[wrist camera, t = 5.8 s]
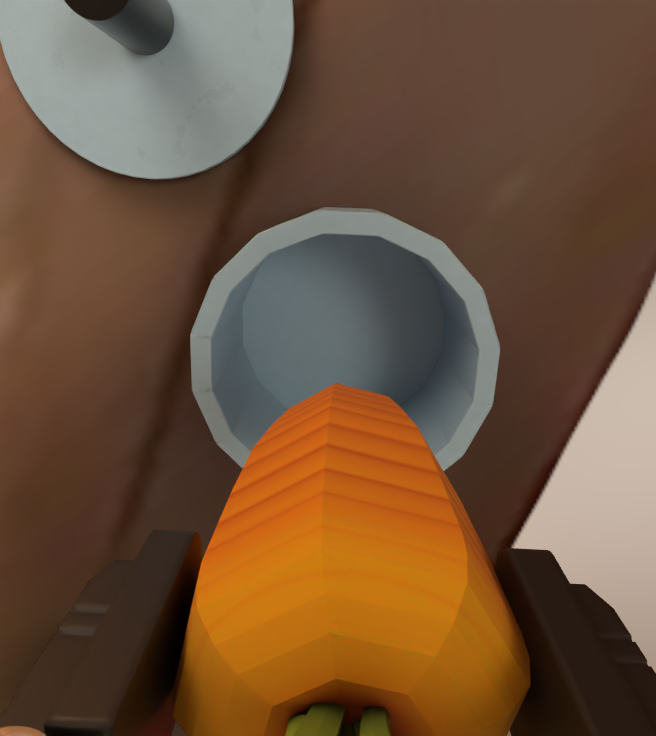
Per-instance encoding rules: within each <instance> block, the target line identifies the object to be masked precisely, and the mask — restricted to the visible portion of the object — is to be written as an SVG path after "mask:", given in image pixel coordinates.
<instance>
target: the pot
mask: <svg viewBox="0 0 656 736" xmlns="http://www.w3.org/2000/svg"><path fill="white" fill-rule="evenodd" d="M190 345H191V376H192V392H193V394H194V396H195V399H196V401H197V403H198V405H199V407H200V409H201V412H202V414H203V416H204V418H205V420H206V422H207V425H208V427H209V429H210V431H211V433H212V435H213V438H214V440H215V442H217V445H218V446H219V447H220V448H221V449H222V450H223V451H224V452H225V453H227V454H228V455H229V456H230V457H231V458H232V459H233V460H234V461H235V462H236V463H237V464H238V465H239V466H240V467H241V468H242V469H243V467H244V465H245V463H246V461H247V459H248V457H249V455H250V453H251V451H252V449H253V447H254V446H255V445H256V444H257V442H258V441H259V440H260V439H261V438H262V436H263V435H264V434H265V433H266V432H267V430H268V429H269V428H270V427H271V426H272V425H273V424H274V423H275V422H276V421H277V420H278V419H279V418H280V417H281V416H282V415H283V414H284V413H285V412H286V411H287V410H288V409H289V408H291V407H293V406H294V405H296V404H298V403H300V402H302V401H304V400H305V399H307V398H309V397H311V396H313V395H315V394H316V393H318V392H320V391H322V390H324V389H326V388H327V387H329V386H331V385H333V384H335V383H338V384H342V385H346V386H350V387H354V388H358V389H362V390H366V391H370V392H374V393H378V394H381V395H385V396H389V397H390V398H391V399H392V400H393V401H394V402H395V403H396V404H397V405H398V406H400V407H401V408H402V409H403V410H404V412H405V413H406V414H407V415H408V416H409V418H410V419H411V420H412V421H413V422H414V424H415V425H416V426H417V427H418V428H419V430H420V432H421V434H422V435H423V437H424V439H425V440H426V442H427V444H428V446H429V447H430V449H431V451H432V452H433V454H434V456H435V458H436V459H437V461H438V463H439V464H440V466H441V468H442V470H443V471H444V470H445V469H447V468H448V467H449V466H451V465H452V464H453V463H455V462H456V461H457V460H458V459H460V458H461V457H462V456H463V454H464V453H465V452H466V450H467V448H468V447H469V445H470V443H471V441H472V440H473V438H474V436H475V435H476V433H477V431H478V430H479V428H480V426H481V424H482V423H483V421H484V419H485V418H486V416H487V414H488V413H489V411H490V409H491V408H492V405H493V400H494V393H495V385H496V378H497V371H498V363H499V356H500V348H499V347H500V344H499V341H498V337H497V334H496V330H495V327H494V324H493V320H492V317H491V313H490V310H489V306H488V303H487V299H486V296H485V292H484V291H483V288H482V287H481V286H480V285H479V283H478V282H477V281H476V280H475V279H474V277H473V276H472V275H471V274H470V273H469V272H468V270H467V269H466V268H465V267H464V266H463V264H462V263H461V262H460V261H459V260H458V259H457V257H456V256H455V255H454V254H453V253H452V251H451V250H450V249H449V248H448V247H447V246H446V244H445V243H443V242H442V241H441V240H439V239H437V238H435V237H433V236H431V235H429V234H427V233H425V232H422V231H420V230H418V229H416V228H414V227H412V226H410V225H408V224H406V223H404V222H402V221H400V220H398V219H396V218H394V217H392V216H390V215H387V214H385V213H383V212H380V211H377V210H374V209H362V208H338V207H323V208H320V209H318V210H315V211H312V212H310V213H307V214H305V215H302V216H299V217H297V218H294V219H291V220H289V221H286V222H284V223H281V224H279V225H276V226H274V227H272V228H269V229H267V230H265V231H262V232H260V233H259V234H257V235H256V236H255V237H254V238H253V239H252V240H251V241H250V242H249V243H247V244H246V245H245V246H244V247H243V248H242V249H241V250H240V251H239V252H238V253H237V254H236V255H235V256H234V257H233V258H232V259H231V260H230V261H229V262H228V263H227V264H226V265H225V266H224V267H223V268H222V269H221V270H220V271H219V272H218V273H217V274H216V275H215V276H214V278H213V279H212V281H211V283H210V286H209V288H208V291H207V293H206V296H205V298H204V301H203V303H202V306H201V308H200V311H199V313H198V316H197V318H196V321H195V323H194V326H193V328H192V331H191V334H190Z"/></svg>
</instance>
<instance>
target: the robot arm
mask: <svg viewBox="0 0 656 736" xmlns="http://www.w3.org/2000/svg"><path fill="white" fill-rule="evenodd" d="M201 562H202V545H201V537H200V534H199V532H186V531H166V530H153V531H152V532H151V533H150V534H149V536H148V538H147V540H146V541H145V543H144V545H143V547H142V549H141V550H140V552H139V554H138V556H137V557H136V559H135V561H124V560H115V561H114V562H113V563H111V564H110V565H109V566H108V567H106V568H105V569H104V570H102V571H101V572H100V573H99V574H97V575H96V576H95V577H93V578H92V579H91V580H90V581H89V582H88V583H87V585H86V586H85V588H84V589H83V591H82V592H81V594H80V596H79V597H78V599H77V600H76V602H75V603H74V605H73V606H72V611H71V612H68V614H67V616H66V617H65V619H64V620H63V622H62V623H61V625H60V626H59V628H58V633H57V635H55V634H54V636H53V637H52V639H51V640H50V642H49V643H48V645H47V646H46V648H45V649H44V651H43V653H42V654H41V656H40V657H39V659H38V660H37V662H36V663H35V665H34V666H33V668H32V669H31V671H30V673H29V674H28V676H27V677H26V679H25V680H24V682H23V683H22V685H21V686H20V688H19V689H18V691H17V693H16V694H15V696H14V697H13V699H12V700H11V702H10V703H9V705H8V706H7V708H6V709H5V711H4V713H3V714H2V716H1V717H0V736H171V734H172V731H173V728H174V725H175V719H174V718H173V717H172V691H173V687H174V682H175V678H176V673H177V669H178V664H179V660H180V656H181V651H182V647H183V642H184V638H185V633H186V629H187V624H188V620H189V615H190V611H191V607H192V602H193V598H194V593H195V589H196V584H197V580H198V575H199V571H200V567H201ZM495 573H496V575H497V578H498V580H499V582H500V584H501V587H502V589H503V591H504V593H505V596H506V598H507V600H508V603H509V605H510V607H511V610H512V612H513V614H514V616H515V619H516V621H517V623H518V626H519V628H520V630H521V632H522V635H523V638H524V641H525V644H526V648H527V651H528V654H529V658H530V684H531V685H530V687H529V689H528V692H527V694H526V696H525V698H524V700H523V702H522V704H521V706H520V708H519V711H518V713H517V715H516V717H515V719H514V721H513V723H512V725H511V727H510V732H511V735H512V736H656V673H655V672H654V670H653V669H652V667H649V666H648V665H647V660H646V658H645V656H644V655H643V653H642V652H641V650H640V649H639V647H638V646H637V644H636V642H632V639H631V635H630V633H629V632H628V630H627V629H626V627H625V626H624V624H623V623H622V621H621V620H620V618H619V616H618V615H617V613H616V612H615V610H614V609H613V608H612V607H611V606H610V605H609V604H607V603H606V602H605V601H604V600H603V599H602V598H600V597H599V596H598V595H597V594H596V593H595V592H593V591H592V590H591V589H590V588H588V586H586V585H584V584H570V583H569V581H568V580H567V578H566V576H565V575H564V573H563V571H562V569H561V567H560V566H559V564H558V562H557V561H556V559H555V557H554V556H553V554H552V553H551V552H550V551H548V550H532V549H514V548H502V549H501V550H500V551H499V553H498V556H497V561H496V568H495Z"/></svg>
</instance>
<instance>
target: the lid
mask: <svg viewBox="0 0 656 736" xmlns="http://www.w3.org/2000/svg"><path fill="white" fill-rule="evenodd" d="M0 41H1V45H2V48H3V52H4V55H5V59H6V61H7V64H8V66H9V68H10V71H11V73H12V76H13V78H14V80H15V82H16V84H17V86H18V88H19V89H20V91H21V93H22V95H23V97H24V98H25V100H26V101H27V103H28V104H29V106H30V107H31V109H32V110H33V111H34V113H35V114H36V116H37V117H38V118H39V119H40V120H41V121H42V123H43V124H44V125H45V126H46V127H47V128H48V129H49V131H50V132H51V133H53V134H54V135H55V136H56V137H57V138H58V139H59V140H60V141H61V142H62V143H64V144H65V145H66V146H67V147H69V148H70V149H71V150H73V151H74V152H76V153H77V154H78V155H80V156H81V157H83V158H85V159H87V160H89V161H90V162H92V163H94V164H96V165H98V166H100V167H103V168H105V169H108V170H110V171H113V172H115V173H119V174H123V175H127V176H131V177H137V178H146V179H175V178H181V177H187V176H191V175H194V174H198V173H201V172H204V171H207V170H209V169H211V168H213V167H215V166H217V165H219V164H221V163H223V162H225V161H226V160H227V159H229V158H230V157H232V156H233V155H235V154H236V153H238V152H239V151H240V150H241V149H242V148H243V147H244V146H245V145H247V144H248V143H249V142H250V141H251V140H252V139H253V138H254V136H255V135H256V134H257V133H258V132H259V131H260V129H261V128H262V127H263V126H264V124H265V123H266V121H267V119H268V118H269V116H270V115H271V113H272V112H273V110H274V108H275V106H276V104H277V102H278V100H279V97H280V95H281V93H282V91H283V88H284V85H285V82H286V79H287V76H288V73H289V68H290V63H291V58H292V53H293V42H294V7H293V0H0Z"/></svg>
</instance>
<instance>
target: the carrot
mask: <svg viewBox="0 0 656 736" xmlns="http://www.w3.org/2000/svg"><path fill="white" fill-rule="evenodd" d="M530 685H531V684H530V658H529V654H528V651H527V648H526V644H525V641H524V638H523V635H522V632H521V630H520V628H519V626H518V623H517V621H516V619H515V616H514V614H513V612H512V610H511V607H510V605H509V603H508V600H507V598H506V596H505V593H504V591H503V589H502V587H501V584H500V582H499V580H498V578H497V575H496V573H495V571H494V569H493V566H492V564H491V562H490V560H489V557H488V555H487V553H486V551H485V549H484V547H483V545H482V543H481V541H480V539H479V537H478V535H477V533H476V531H475V529H474V527H473V525H472V523H471V521H470V519H469V517H468V515H467V513H466V511H465V509H464V507H463V505H462V503H461V501H460V499H459V497H458V495H457V493H456V492H455V490H454V488H453V487H452V485H451V483H450V481H449V480H448V478H447V476H446V475H445V473H444V471H443V470H442V468H441V466H440V464H439V463H438V461H437V459H436V458H435V456H434V454H433V452H432V451H431V449H430V447H429V446H428V444H427V442H426V440H425V439H424V437H423V435H422V434H421V432H420V430H419V428H418V427H417V426H416V425H415V424H414V422H413V421H412V420H411V419H410V418H409V416H408V415H407V414H406V413H405V412H404V410H403V409H402V408H401V407H400V406H398V405H397V404H396V403H395V402H394V401H393V400H392V399H391V398H390V397H389V396H385V395H381V394H378V393H374V392H370V391H366V390H362V389H358V388H354V387H350V386H346V385H342V384H338V383H335V384H333V385H331V386H329V387H327V388H326V389H324V390H322V391H320V392H318V393H316V394H315V395H313V396H311V397H309V398H307V399H305V400H304V401H302V402H300V403H298V404H296V405H294V406H293V407H291V408H289V409H288V410H287V411H286V412H285V413H284V414H283V415H282V416H281V417H280V418H279V419H278V420H277V421H276V422H275V423H274V424H273V425H272V426H271V427H270V428H269V429H268V430H267V432H266V433H265V434H264V435H263V436H262V438H261V439H260V440H259V441H258V442H257V444H256V445H255V446H254V447H253V449H252V451H251V453H250V455H249V457H248V459H247V461H246V463H245V465H244V467H243V469H242V471H241V473H240V475H239V477H238V479H237V481H236V483H235V485H234V487H233V490H232V492H231V494H230V496H229V498H228V501H227V503H226V506H225V508H224V510H223V513H222V515H221V517H220V520H219V522H218V524H217V527H216V529H215V531H214V534H213V536H212V539H211V541H210V543H209V546H208V548H207V550H206V553H205V555H204V557H203V560H202V562H201V567H200V571H199V575H198V580H197V584H196V589H195V593H194V598H193V602H192V607H191V611H190V615H189V620H188V624H187V629H186V633H185V638H184V642H183V647H182V651H181V656H180V660H179V664H178V669H177V673H176V678H175V682H174V687H173V691H172V717H173V718H174V719H175V721H176V722H177V723H178V724H179V725H180V727H181V728H182V729H183V730H184V732H185V733H186V734H187V735H188V736H507V734H508V732H509V730H510V727H511V725H512V723H513V721H514V719H515V717H516V715H517V713H518V711H519V708H520V706H521V704H522V702H523V700H524V698H525V696H526V694H527V692H528V689H529V687H530Z"/></svg>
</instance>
